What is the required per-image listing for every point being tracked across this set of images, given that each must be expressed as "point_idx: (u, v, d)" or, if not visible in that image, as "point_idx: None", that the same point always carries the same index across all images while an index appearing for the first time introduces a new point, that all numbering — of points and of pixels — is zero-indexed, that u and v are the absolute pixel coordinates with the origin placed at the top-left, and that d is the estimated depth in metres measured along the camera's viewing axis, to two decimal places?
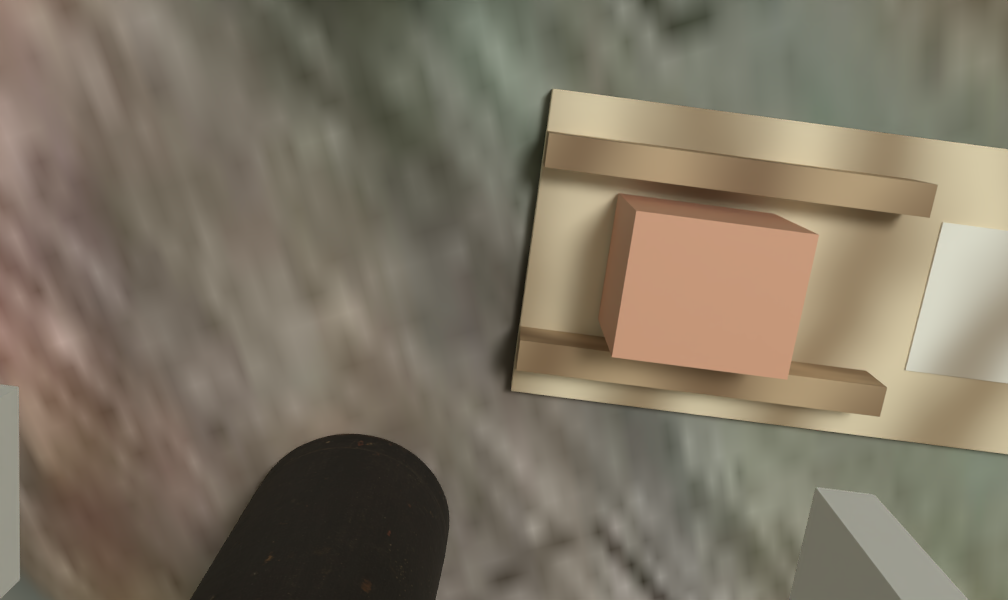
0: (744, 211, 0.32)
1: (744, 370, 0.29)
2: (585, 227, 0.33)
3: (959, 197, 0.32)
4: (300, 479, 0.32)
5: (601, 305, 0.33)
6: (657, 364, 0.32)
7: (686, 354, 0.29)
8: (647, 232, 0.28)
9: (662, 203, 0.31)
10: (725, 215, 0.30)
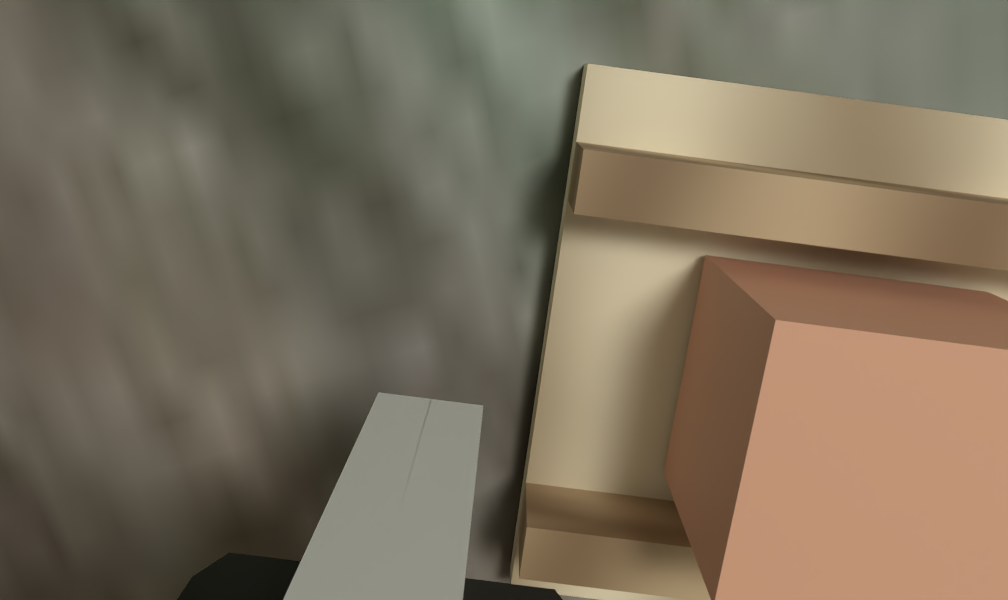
0: (941, 291, 0.17)
1: None
2: (643, 315, 0.18)
3: None
4: None
5: (671, 453, 0.18)
6: None
7: None
8: (796, 364, 0.13)
9: (797, 281, 0.16)
10: (932, 312, 0.15)
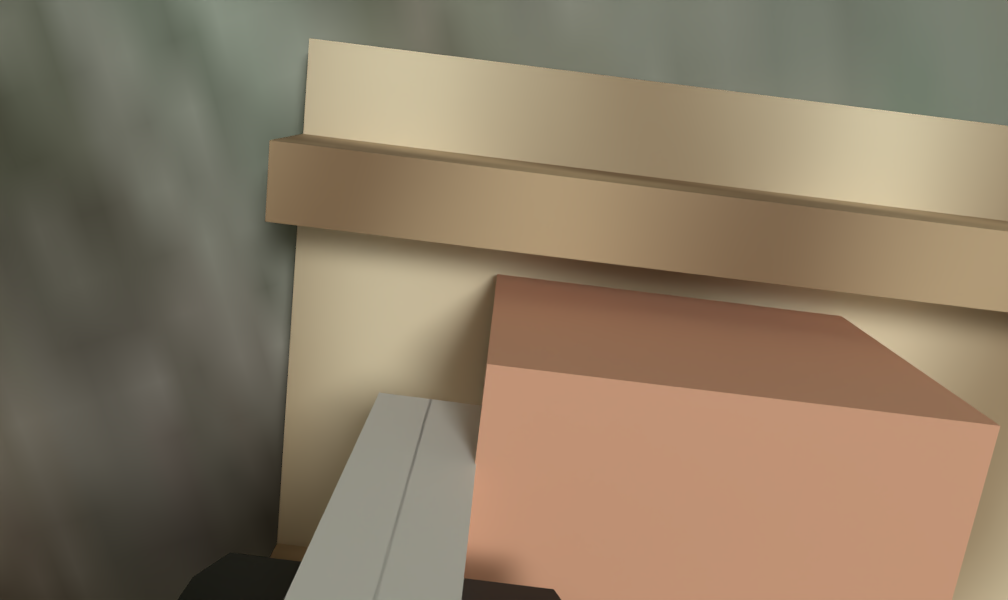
0: (777, 316, 0.14)
1: None
2: (401, 343, 0.15)
3: None
4: None
5: None
6: None
7: None
8: (521, 421, 0.10)
9: (586, 307, 0.13)
10: (736, 347, 0.12)
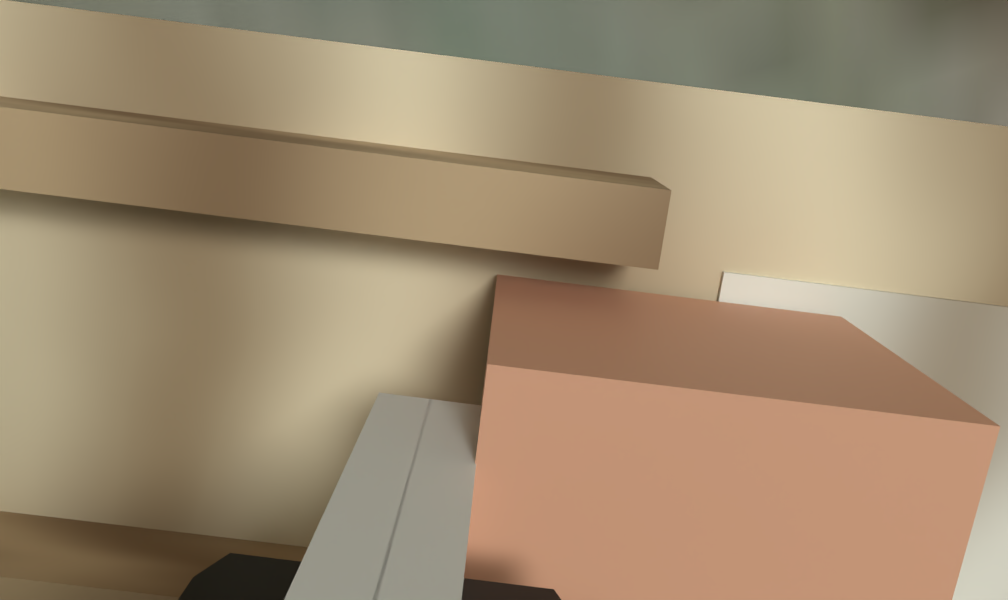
0: (777, 317, 0.14)
1: None
2: None
3: (757, 217, 0.15)
4: None
5: None
6: (74, 598, 0.14)
7: None
8: (521, 422, 0.10)
9: (586, 307, 0.13)
10: (736, 347, 0.12)
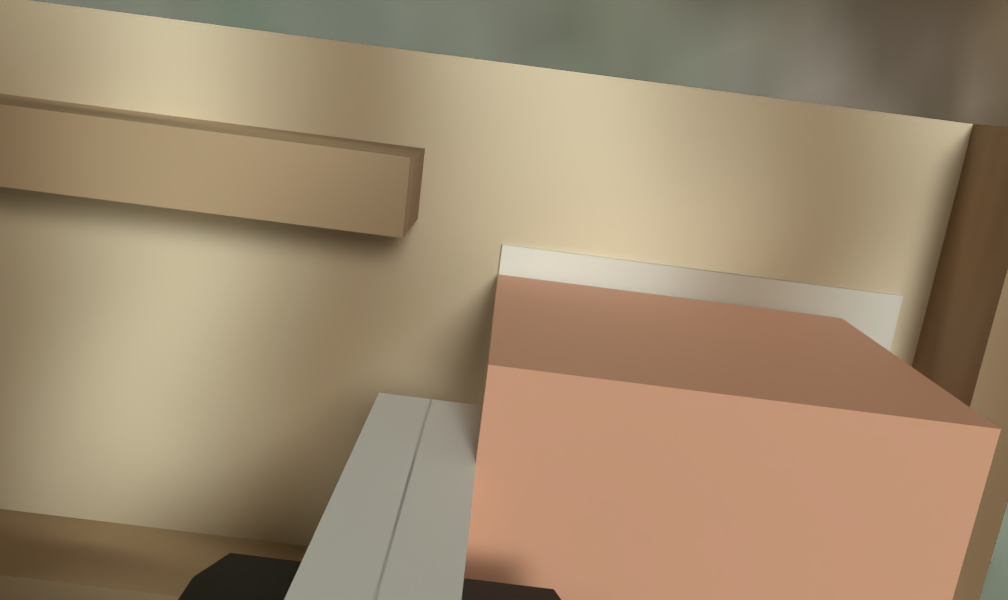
0: (778, 318, 0.14)
1: None
2: None
3: (534, 190, 0.14)
4: None
5: None
6: None
7: None
8: (521, 423, 0.10)
9: (587, 308, 0.13)
10: (737, 348, 0.12)
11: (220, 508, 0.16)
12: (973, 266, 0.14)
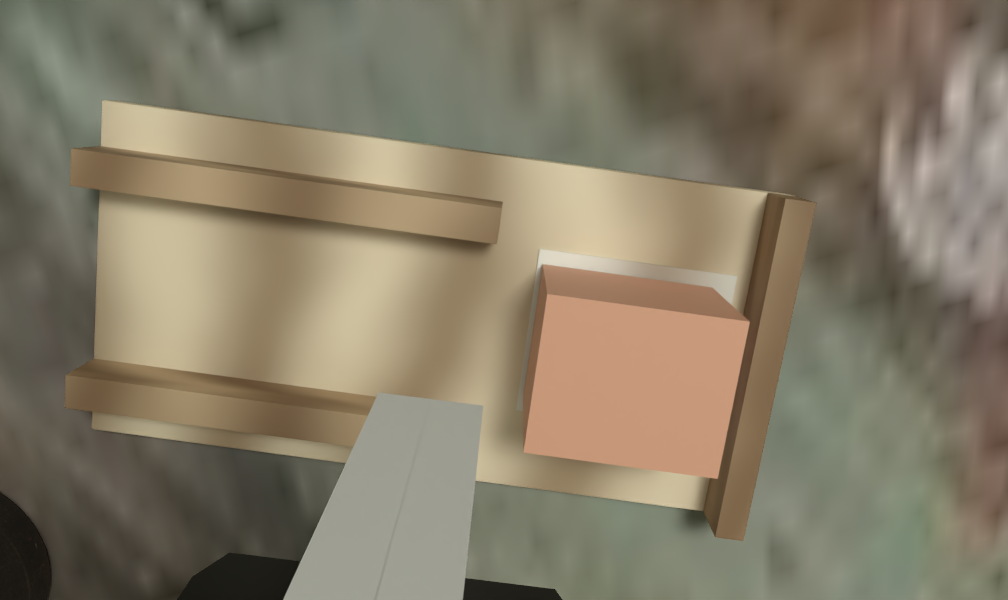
0: (678, 286, 0.29)
1: (669, 468, 0.26)
2: (153, 252, 0.30)
3: (555, 222, 0.30)
4: None
5: (525, 385, 0.30)
6: (218, 402, 0.29)
7: (605, 450, 0.26)
8: (560, 317, 0.25)
9: (586, 278, 0.28)
10: (652, 294, 0.27)
11: (391, 383, 0.31)
12: (764, 260, 0.29)
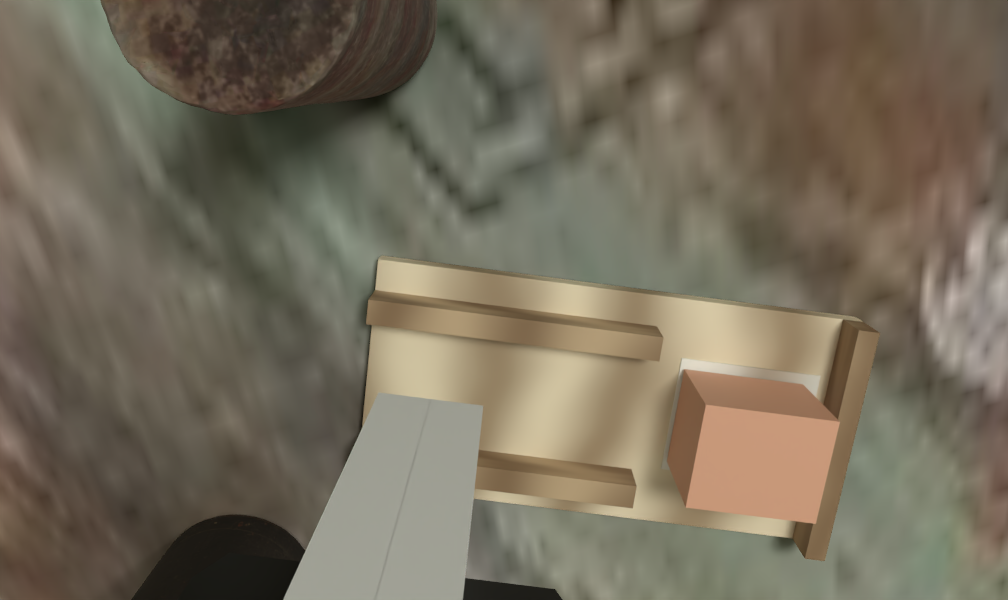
0: (781, 385, 0.42)
1: (783, 517, 0.39)
2: (408, 361, 0.43)
3: (693, 339, 0.42)
4: (186, 557, 0.42)
5: (670, 452, 0.43)
6: None
7: (741, 505, 0.39)
8: (713, 420, 0.38)
9: (720, 383, 0.41)
10: (768, 398, 0.40)
11: (573, 451, 0.44)
12: (841, 368, 0.41)
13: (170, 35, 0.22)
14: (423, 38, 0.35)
